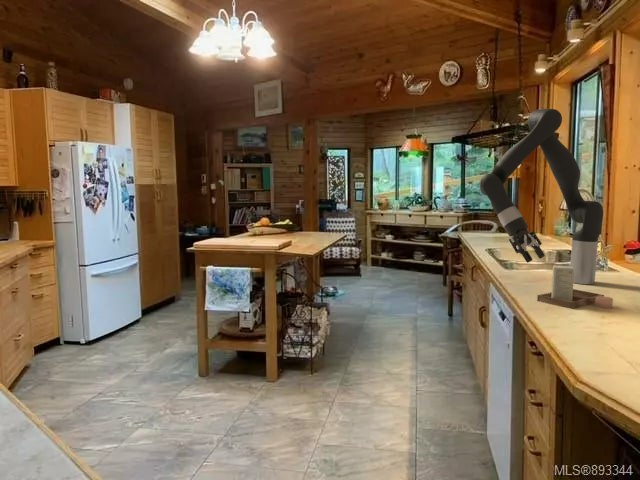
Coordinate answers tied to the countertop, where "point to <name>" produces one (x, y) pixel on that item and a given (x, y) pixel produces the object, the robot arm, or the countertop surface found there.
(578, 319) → the countertop surface
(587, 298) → the walnut organizer
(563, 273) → the skincare box
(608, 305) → the pinkish brown rounded piece
